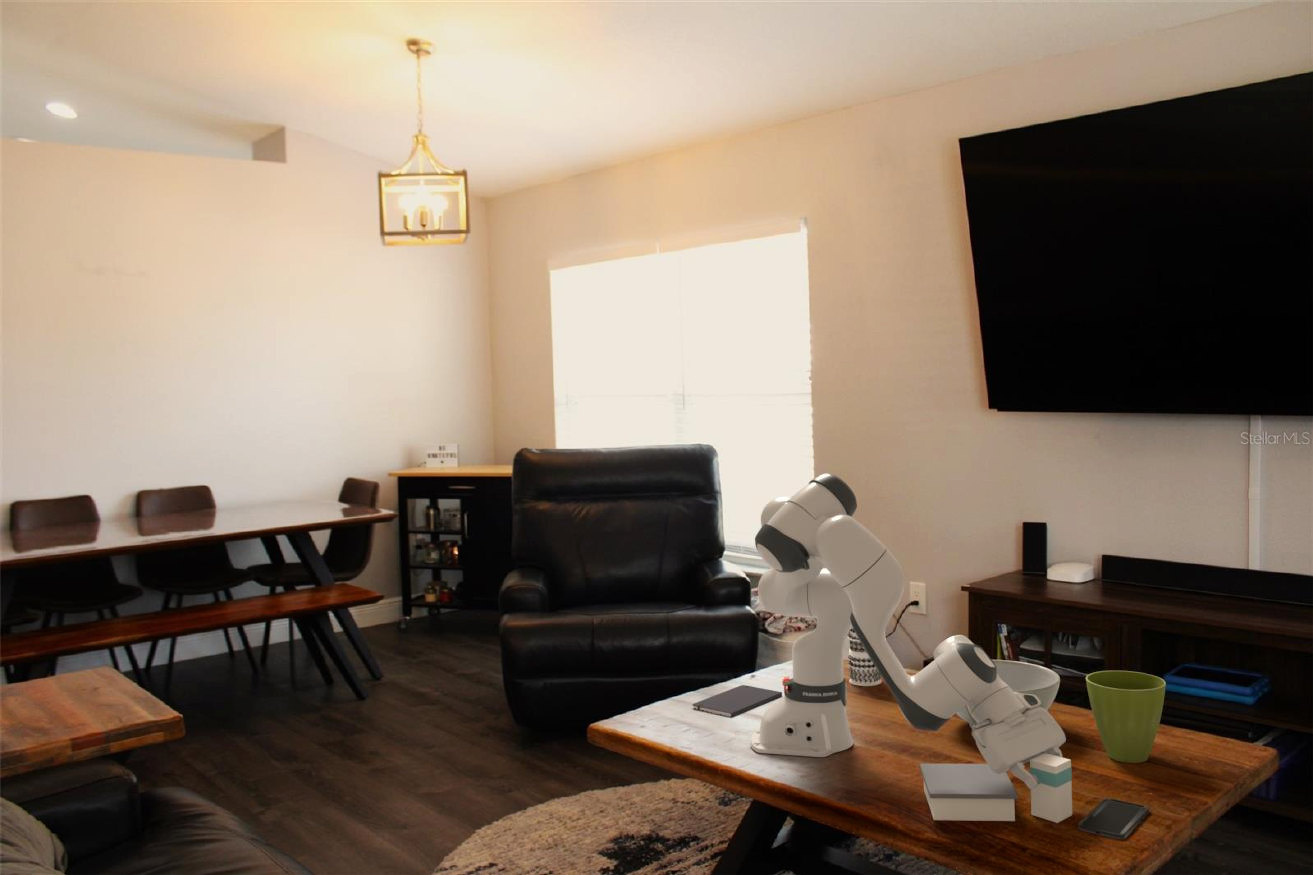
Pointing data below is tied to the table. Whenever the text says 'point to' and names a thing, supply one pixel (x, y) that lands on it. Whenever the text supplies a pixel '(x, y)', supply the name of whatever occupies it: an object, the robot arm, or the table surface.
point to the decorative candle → (861, 664)
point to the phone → (1113, 818)
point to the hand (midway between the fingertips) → (1050, 780)
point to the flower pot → (1126, 712)
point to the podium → (968, 792)
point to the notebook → (737, 700)
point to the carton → (1051, 787)
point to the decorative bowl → (1023, 683)
